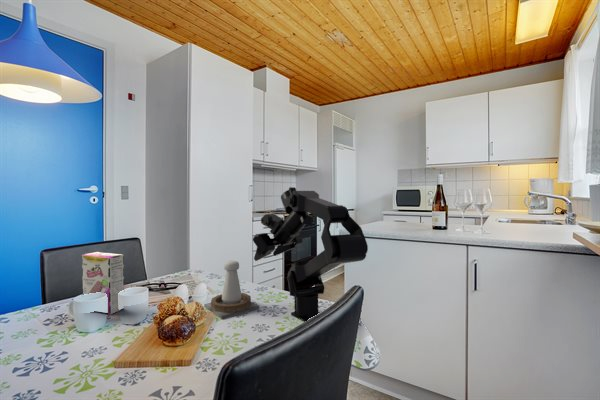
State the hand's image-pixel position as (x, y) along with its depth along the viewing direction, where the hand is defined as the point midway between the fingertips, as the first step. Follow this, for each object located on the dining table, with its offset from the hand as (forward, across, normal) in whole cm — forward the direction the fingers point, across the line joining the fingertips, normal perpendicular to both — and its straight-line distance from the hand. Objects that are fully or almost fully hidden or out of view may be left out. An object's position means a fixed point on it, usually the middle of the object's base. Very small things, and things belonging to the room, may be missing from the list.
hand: (264, 257), depth 96 cm
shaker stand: (+12, +11, +7) cm, 18 cm away
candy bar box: (+33, +33, -14) cm, 49 cm away
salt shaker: (+12, +11, +7) cm, 17 cm away
